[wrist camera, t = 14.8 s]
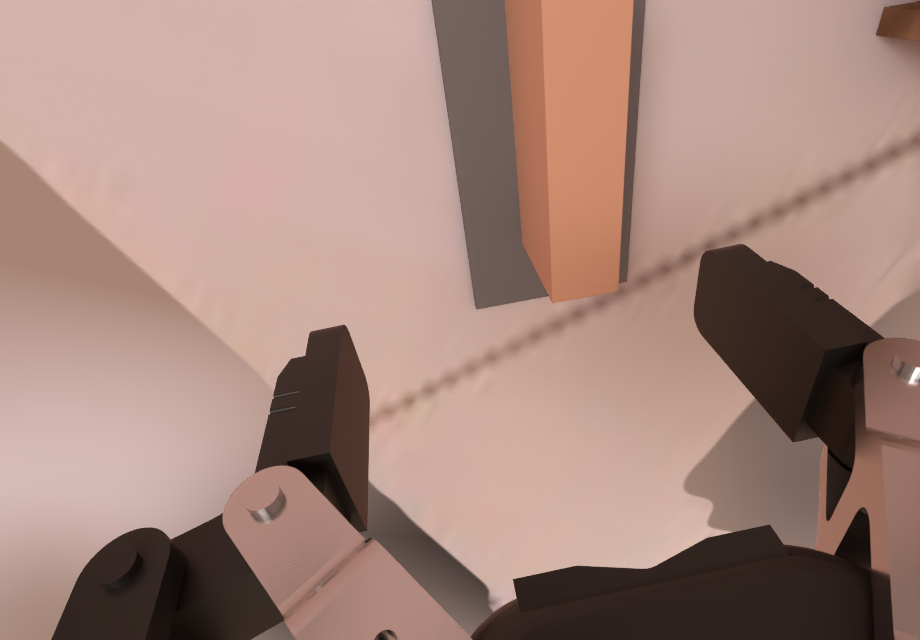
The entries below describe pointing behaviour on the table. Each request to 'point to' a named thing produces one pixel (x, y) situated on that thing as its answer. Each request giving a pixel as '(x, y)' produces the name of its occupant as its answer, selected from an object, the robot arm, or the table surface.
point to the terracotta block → (570, 137)
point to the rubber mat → (503, 146)
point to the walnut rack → (901, 21)
